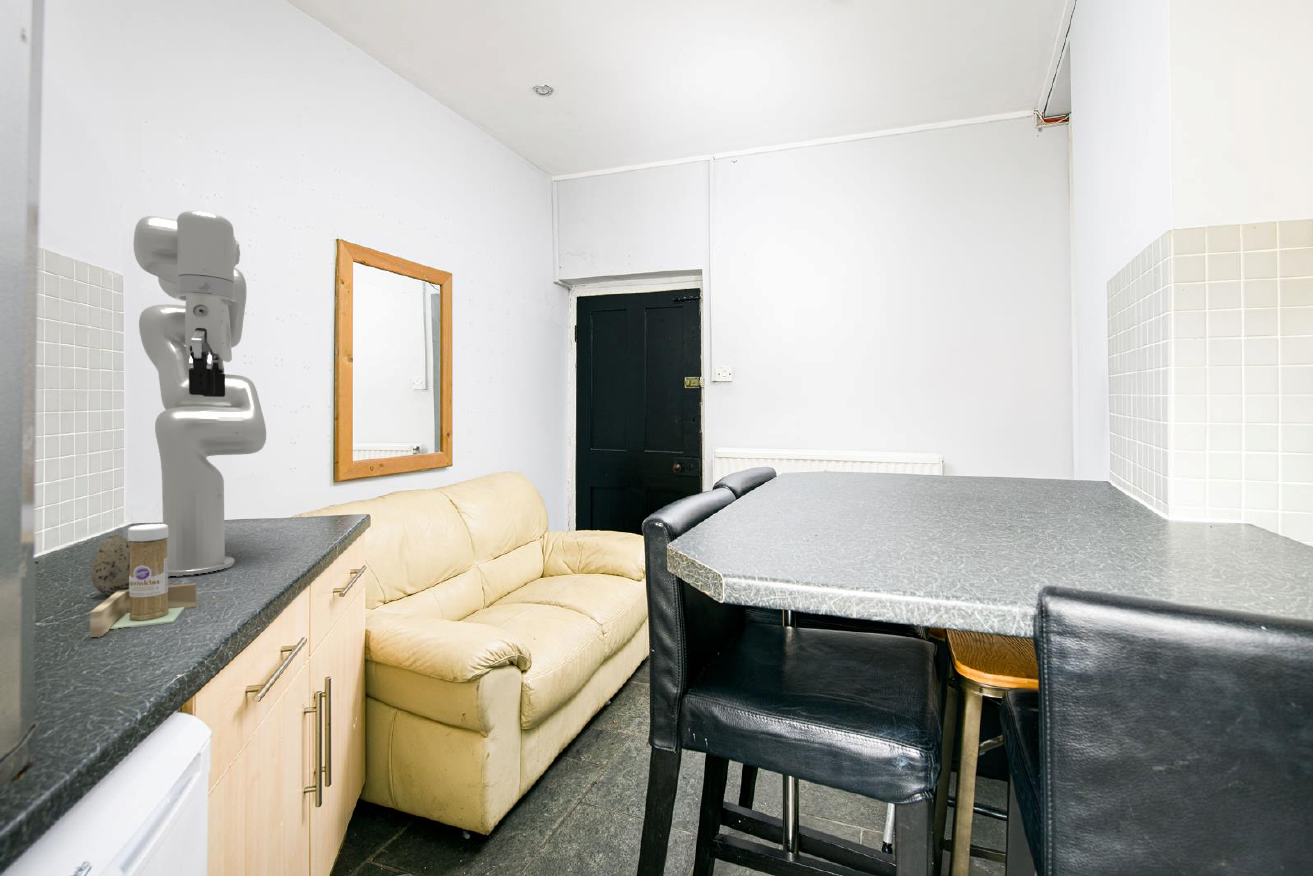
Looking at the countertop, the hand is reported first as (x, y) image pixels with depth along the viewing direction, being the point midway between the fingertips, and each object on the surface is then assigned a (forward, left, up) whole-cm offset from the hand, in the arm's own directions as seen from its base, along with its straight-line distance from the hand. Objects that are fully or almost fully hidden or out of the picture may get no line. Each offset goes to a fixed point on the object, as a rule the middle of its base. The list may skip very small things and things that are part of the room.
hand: (208, 395), depth 100 cm
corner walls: (+11, -6, -33) cm, 35 cm away
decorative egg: (-7, -14, -34) cm, 37 cm away
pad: (+11, -6, -33) cm, 35 cm away
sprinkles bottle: (+10, -6, -33) cm, 35 cm away
